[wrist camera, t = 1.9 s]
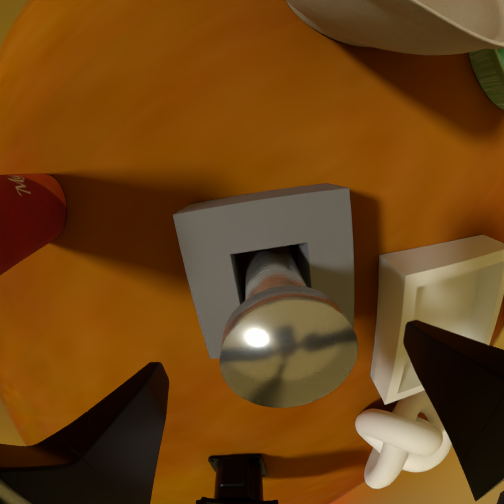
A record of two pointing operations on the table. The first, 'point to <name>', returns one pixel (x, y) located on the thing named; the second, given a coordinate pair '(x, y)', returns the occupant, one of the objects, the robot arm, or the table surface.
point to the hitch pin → (285, 336)
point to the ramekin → (490, 73)
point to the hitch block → (265, 247)
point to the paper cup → (28, 215)
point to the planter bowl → (408, 24)
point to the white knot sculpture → (402, 439)
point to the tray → (434, 303)
